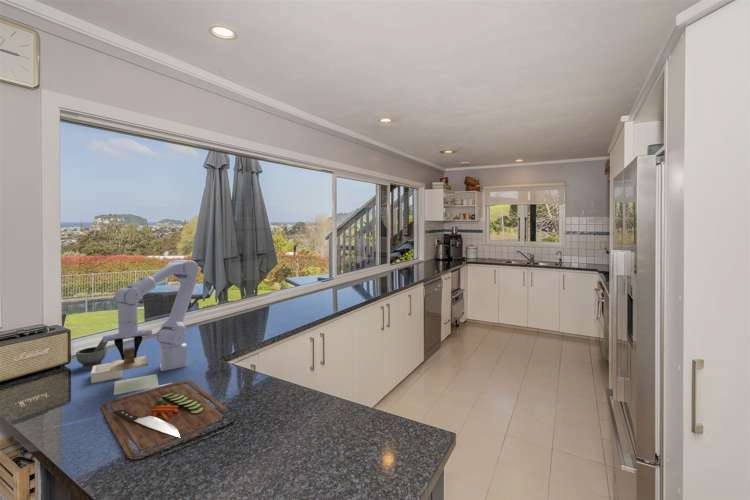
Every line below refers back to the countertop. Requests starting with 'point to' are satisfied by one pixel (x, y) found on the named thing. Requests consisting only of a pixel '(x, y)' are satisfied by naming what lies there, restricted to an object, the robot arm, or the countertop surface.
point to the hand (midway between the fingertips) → (129, 358)
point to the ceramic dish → (104, 373)
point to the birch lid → (128, 361)
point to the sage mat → (135, 384)
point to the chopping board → (160, 416)
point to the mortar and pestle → (92, 355)
